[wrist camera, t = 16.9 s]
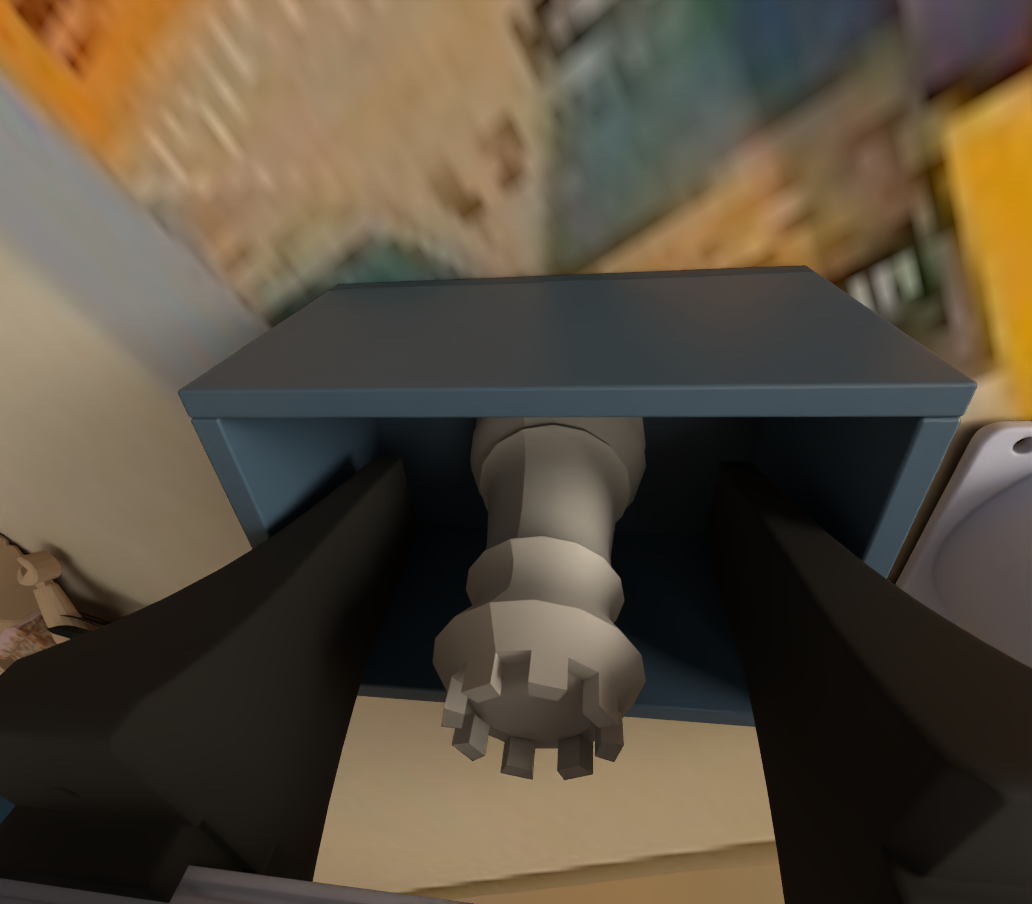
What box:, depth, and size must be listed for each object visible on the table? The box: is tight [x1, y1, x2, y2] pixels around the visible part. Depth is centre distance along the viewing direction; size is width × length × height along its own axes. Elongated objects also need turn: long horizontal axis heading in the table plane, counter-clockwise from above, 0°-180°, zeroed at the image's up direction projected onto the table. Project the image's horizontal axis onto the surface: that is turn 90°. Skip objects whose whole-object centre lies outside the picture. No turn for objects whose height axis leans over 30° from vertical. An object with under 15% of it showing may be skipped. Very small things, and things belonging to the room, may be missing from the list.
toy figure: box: [0, 535, 110, 673], centre depth 21 cm, size 7×6×15 cm
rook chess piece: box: [433, 417, 646, 780], centre depth 10 cm, size 4×4×8 cm
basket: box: [178, 265, 977, 727], centre depth 12 cm, size 11×11×6 cm
